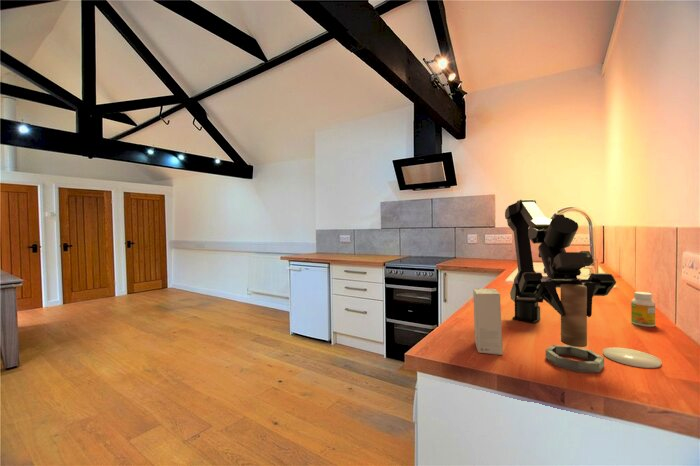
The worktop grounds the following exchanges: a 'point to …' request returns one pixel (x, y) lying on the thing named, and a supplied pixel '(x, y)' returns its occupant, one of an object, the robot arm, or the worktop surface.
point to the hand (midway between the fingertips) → (576, 315)
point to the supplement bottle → (643, 309)
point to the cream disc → (632, 357)
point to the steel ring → (589, 366)
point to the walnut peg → (574, 315)
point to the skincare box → (487, 321)
